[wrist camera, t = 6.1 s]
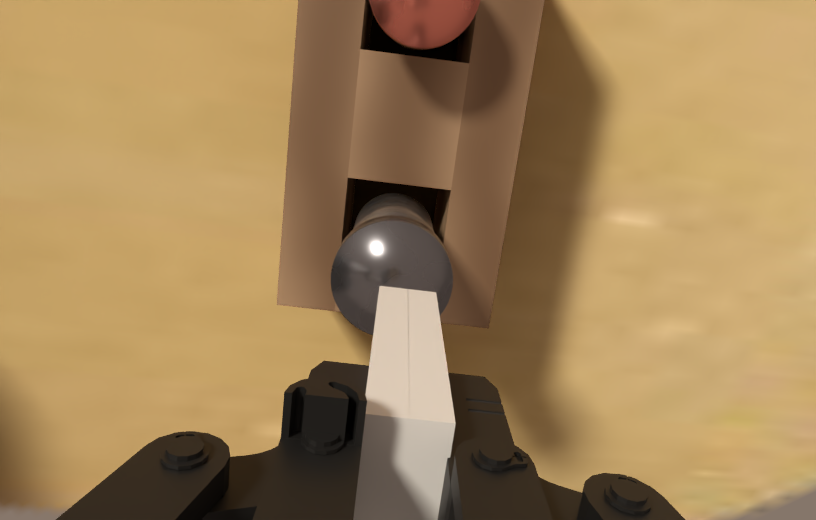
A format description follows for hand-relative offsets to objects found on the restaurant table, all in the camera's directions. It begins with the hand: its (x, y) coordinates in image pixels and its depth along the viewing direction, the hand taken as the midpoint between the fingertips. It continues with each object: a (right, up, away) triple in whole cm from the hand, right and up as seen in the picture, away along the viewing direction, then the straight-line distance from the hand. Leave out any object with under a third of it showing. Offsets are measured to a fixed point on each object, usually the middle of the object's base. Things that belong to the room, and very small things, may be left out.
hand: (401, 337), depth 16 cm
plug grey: (0, +3, +12) cm, 13 cm away
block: (0, +10, +17) cm, 20 cm away
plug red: (+1, +14, +13) cm, 20 cm away
